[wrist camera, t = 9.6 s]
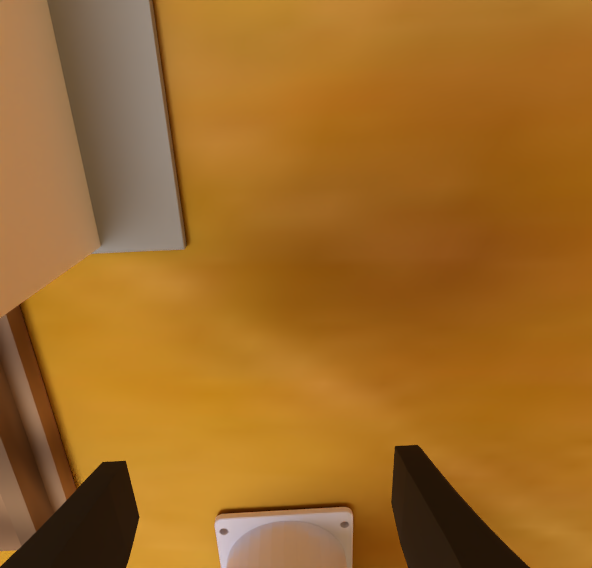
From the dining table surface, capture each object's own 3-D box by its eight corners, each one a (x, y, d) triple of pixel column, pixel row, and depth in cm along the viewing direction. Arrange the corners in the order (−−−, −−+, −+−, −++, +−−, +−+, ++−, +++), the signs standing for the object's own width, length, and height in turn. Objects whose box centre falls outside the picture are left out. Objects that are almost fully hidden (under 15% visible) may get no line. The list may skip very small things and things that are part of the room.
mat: (186, 246, 18) (184, 249, 18) (-43, 256, 18) (-52, 260, 18) (143, -62, 14) (139, -68, 14) (-152, -52, 14) (-167, -58, 14)
